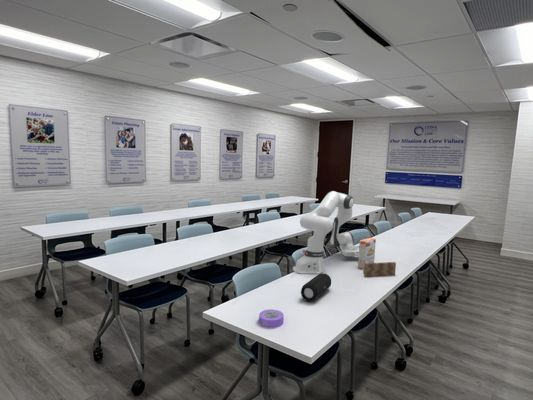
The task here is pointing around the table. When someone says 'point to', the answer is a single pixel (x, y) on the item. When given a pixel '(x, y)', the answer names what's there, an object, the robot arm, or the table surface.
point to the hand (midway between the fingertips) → (359, 255)
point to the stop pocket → (379, 269)
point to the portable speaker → (316, 287)
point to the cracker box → (366, 252)
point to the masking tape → (271, 318)
